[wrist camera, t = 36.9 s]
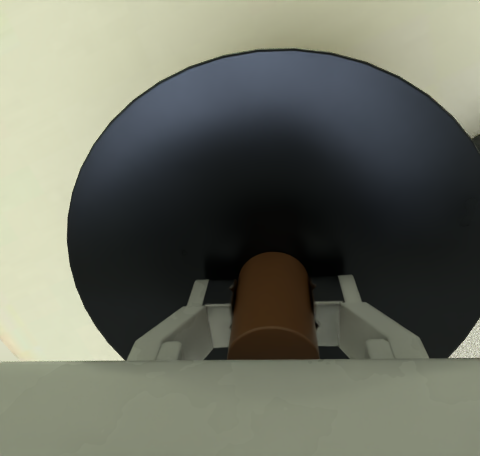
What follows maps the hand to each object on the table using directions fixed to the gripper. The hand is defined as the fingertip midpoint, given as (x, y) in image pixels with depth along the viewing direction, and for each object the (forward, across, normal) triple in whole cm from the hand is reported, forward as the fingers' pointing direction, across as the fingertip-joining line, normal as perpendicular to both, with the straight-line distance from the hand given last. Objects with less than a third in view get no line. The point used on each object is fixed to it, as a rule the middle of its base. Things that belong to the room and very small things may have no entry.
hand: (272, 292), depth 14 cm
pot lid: (+1, 0, 0) cm, 1 cm away
